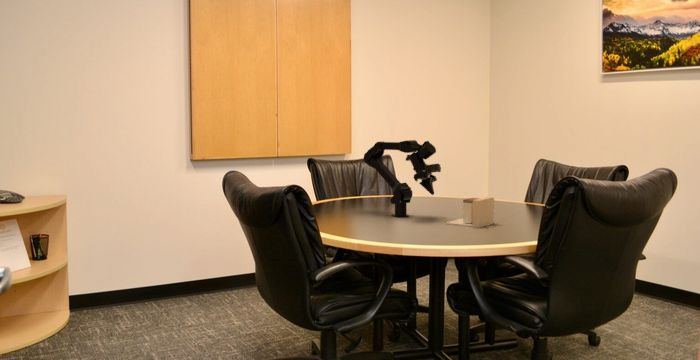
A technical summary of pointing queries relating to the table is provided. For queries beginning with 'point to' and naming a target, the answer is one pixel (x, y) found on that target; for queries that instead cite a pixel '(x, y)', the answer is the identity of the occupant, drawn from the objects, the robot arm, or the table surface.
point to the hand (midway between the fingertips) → (433, 194)
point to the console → (479, 213)
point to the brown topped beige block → (468, 210)
